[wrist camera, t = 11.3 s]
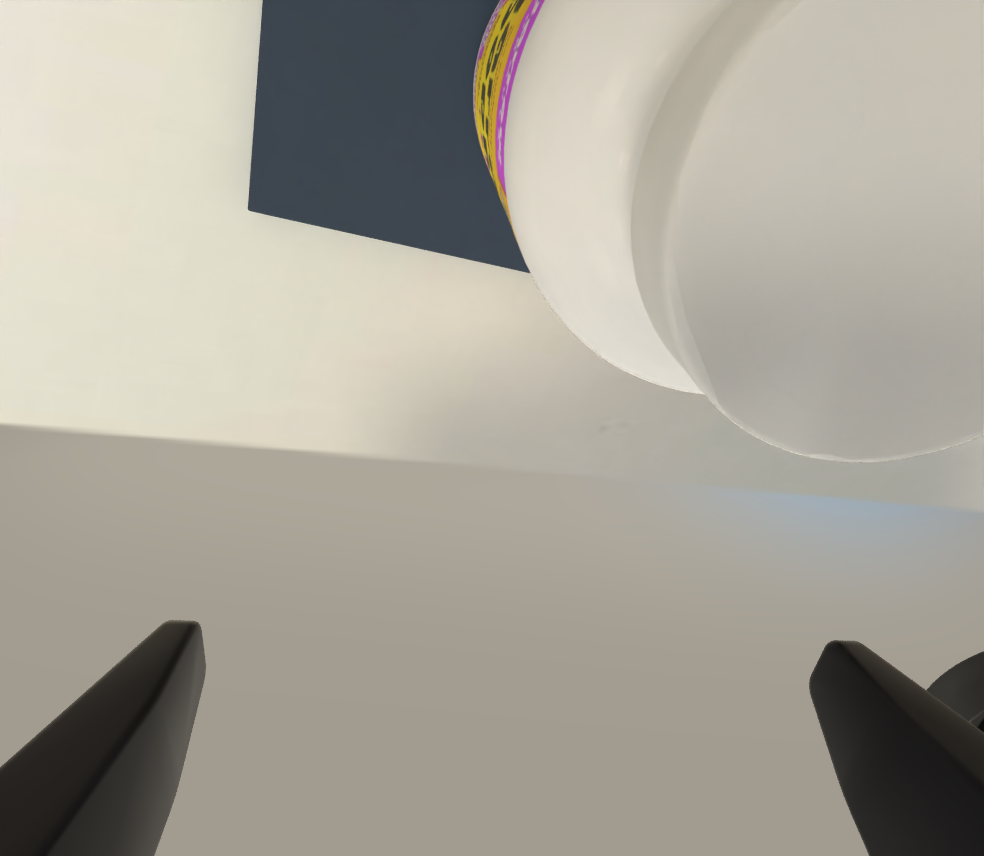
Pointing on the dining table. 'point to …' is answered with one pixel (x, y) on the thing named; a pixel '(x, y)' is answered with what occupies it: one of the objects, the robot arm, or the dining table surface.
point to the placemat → (377, 124)
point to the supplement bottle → (757, 204)
